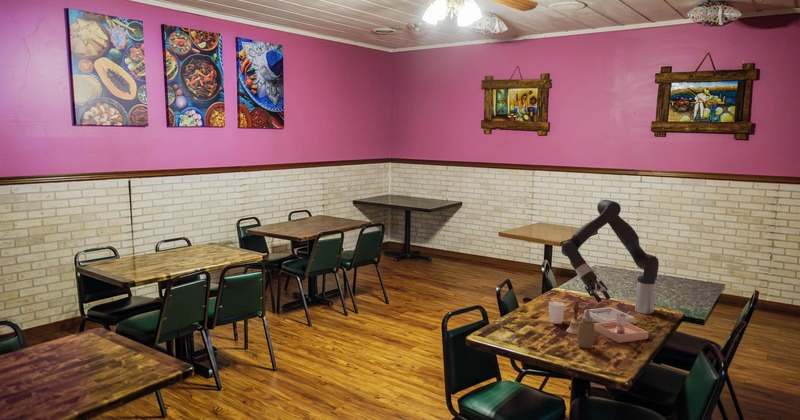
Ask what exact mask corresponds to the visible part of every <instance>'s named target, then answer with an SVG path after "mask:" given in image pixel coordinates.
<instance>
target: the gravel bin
mask: <svg viewBox="0 0 800 420" xmlns="http://www.w3.org/2000/svg"><path fill="white" fill-rule="evenodd" d="M583 312H584V313H583V314H584V315H583V316H585V313H586V309H584V311H583ZM589 312H590V316H591V317H592V322H594V323H604V322H612V321H616V317H617V314H624V315H626V322H627V323H629V324H632V325H634V324H635V317H634V316H632V315H629V313H625V312H623V311H621V310H618V309H616V308H613V307H611V306H610V307H601V308H591V309H589Z"/></svg>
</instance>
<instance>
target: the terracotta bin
mask: <svg viewBox="0 0 800 420" xmlns="http://www.w3.org/2000/svg"><path fill="white" fill-rule="evenodd" d="M615 329H616V321H612V322H604V323H597V322H595V323H594V332H596V333H599V334H601V335H603V336H605V337H606V338H608V339H610V340H613V341H615V342H616V343H620V344H621V343H626V342H633V341H634V342H635V341H641V340H648V339H649V331H647V330H644V329H642V328H640V327H638V326H636V325H634V324H629V323H627V322H626V323H625V333H624V334H618V333H616V332H615Z"/></svg>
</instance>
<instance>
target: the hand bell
mask: <svg viewBox="0 0 800 420" xmlns="http://www.w3.org/2000/svg"><path fill="white" fill-rule="evenodd" d="M579 310H580V304H579V301H578V300H575V302H574V304H573V313H574V314H573V319H572V320H570V324H569V326H568V327H567V329H566V333H568V334H571V335H577V333H578V328H579V322H580V320H578V313H579Z"/></svg>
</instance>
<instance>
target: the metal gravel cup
mask: <svg viewBox="0 0 800 420" xmlns="http://www.w3.org/2000/svg"><path fill="white" fill-rule="evenodd" d="M625 323H626V315H624V314H617V317H616V329H615V332H616V333H618V334H624V333H625Z"/></svg>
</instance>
